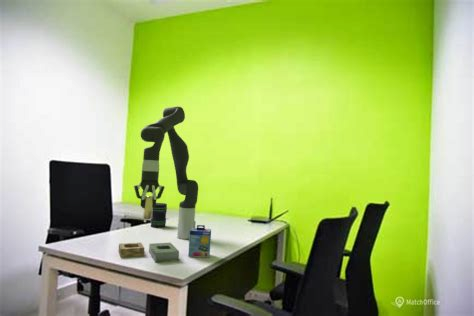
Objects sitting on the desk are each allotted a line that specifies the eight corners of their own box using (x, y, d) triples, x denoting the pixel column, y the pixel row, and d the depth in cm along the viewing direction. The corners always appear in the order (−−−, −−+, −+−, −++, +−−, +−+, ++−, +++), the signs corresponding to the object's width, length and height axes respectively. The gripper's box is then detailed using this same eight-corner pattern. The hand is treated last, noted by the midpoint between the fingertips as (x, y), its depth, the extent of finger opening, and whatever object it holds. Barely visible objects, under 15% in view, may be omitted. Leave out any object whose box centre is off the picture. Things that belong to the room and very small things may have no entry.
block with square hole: (170, 250, 151) (170, 242, 151) (178, 260, 137) (179, 251, 137) (148, 252, 147) (149, 243, 147) (155, 262, 133) (155, 252, 133)
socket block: (140, 249, 150) (141, 242, 150) (143, 255, 141) (144, 247, 141) (118, 251, 146) (118, 243, 146) (120, 257, 137) (120, 249, 137)
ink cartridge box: (187, 257, 143) (189, 225, 143) (188, 253, 148) (190, 223, 149) (209, 257, 144) (211, 226, 144) (209, 254, 149) (211, 223, 150)
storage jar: (147, 226, 208) (148, 203, 208) (159, 224, 215) (161, 202, 216) (156, 228, 201) (157, 205, 202) (168, 226, 209) (170, 204, 209)
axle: (151, 217, 146) (152, 195, 146) (152, 218, 142) (154, 196, 143) (142, 217, 144) (143, 195, 144) (143, 219, 140) (145, 196, 141)
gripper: (164, 170, 150) (161, 206, 150) (133, 169, 144) (130, 206, 143) (167, 171, 144) (165, 209, 143) (135, 169, 137) (133, 209, 137)
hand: (148, 207), depth 143 cm, fingers closed on axle, 4 cm apart
